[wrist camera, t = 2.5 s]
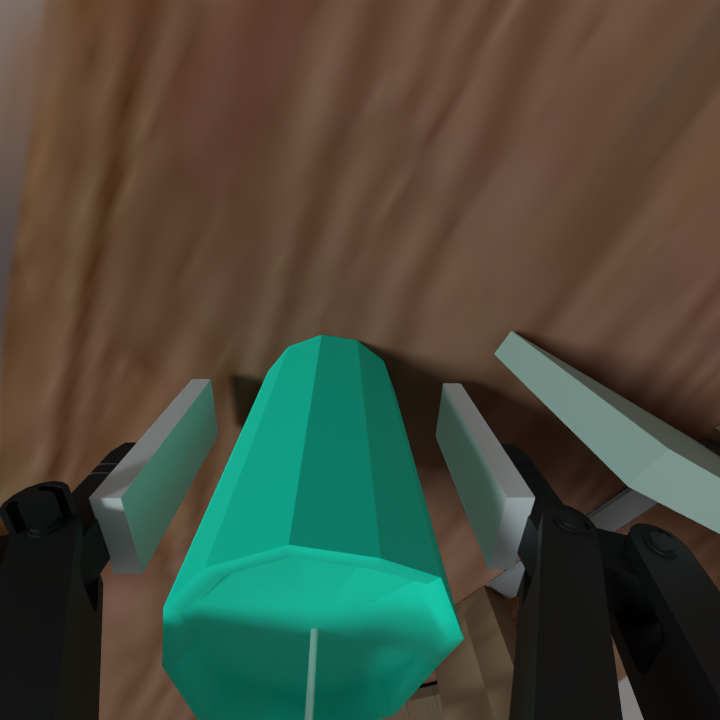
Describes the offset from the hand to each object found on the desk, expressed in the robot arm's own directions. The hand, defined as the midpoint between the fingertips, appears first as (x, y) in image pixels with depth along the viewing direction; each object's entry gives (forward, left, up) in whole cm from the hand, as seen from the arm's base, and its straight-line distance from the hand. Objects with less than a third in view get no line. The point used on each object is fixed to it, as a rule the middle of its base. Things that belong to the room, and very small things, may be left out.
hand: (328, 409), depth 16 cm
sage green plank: (+8, -10, -1) cm, 13 cm away
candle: (0, 0, -1) cm, 1 cm away
